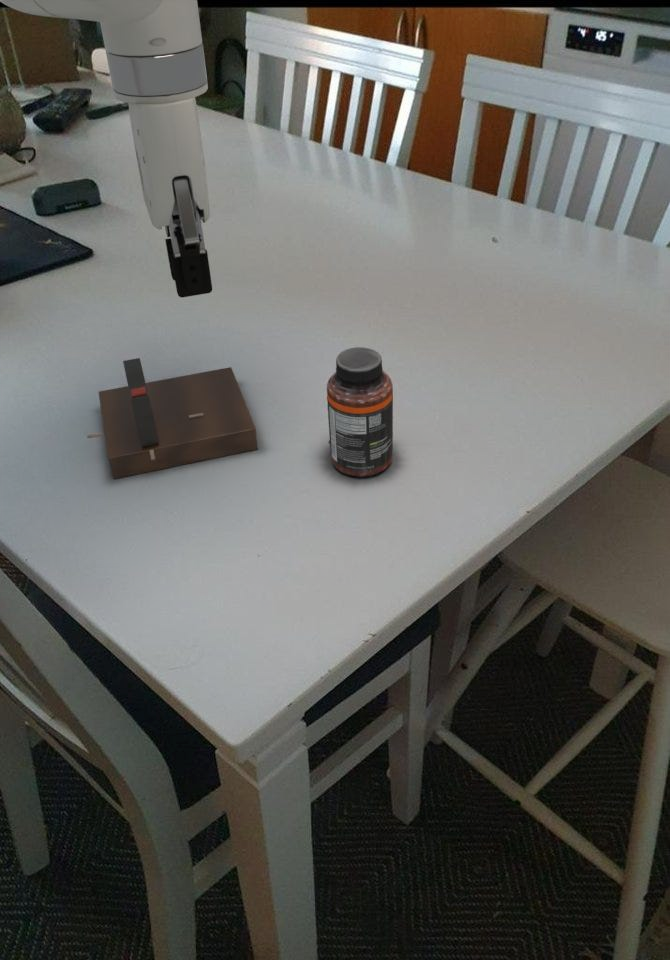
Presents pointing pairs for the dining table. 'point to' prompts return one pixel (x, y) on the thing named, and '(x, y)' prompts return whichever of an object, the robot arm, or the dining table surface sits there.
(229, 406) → the panel
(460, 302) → the dining table surface
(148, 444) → the dark battery block
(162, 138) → the robot arm
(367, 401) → the supplement bottle
